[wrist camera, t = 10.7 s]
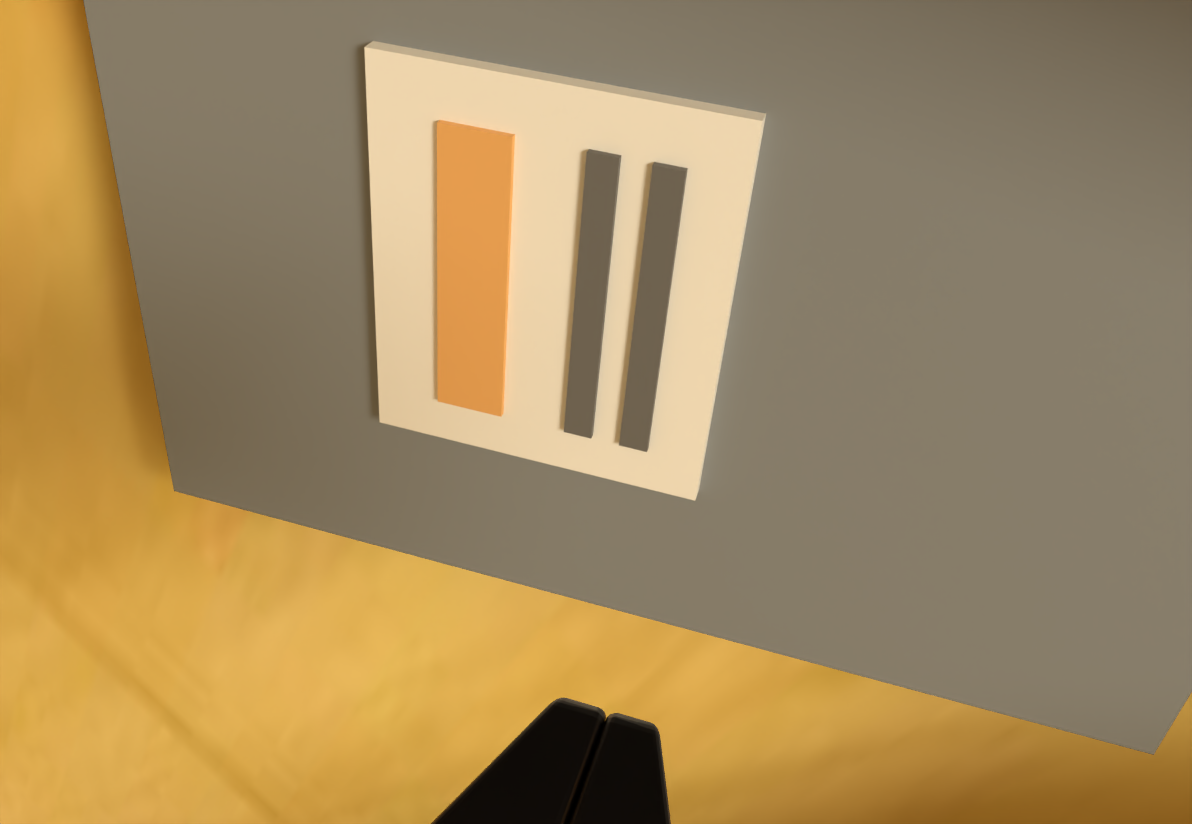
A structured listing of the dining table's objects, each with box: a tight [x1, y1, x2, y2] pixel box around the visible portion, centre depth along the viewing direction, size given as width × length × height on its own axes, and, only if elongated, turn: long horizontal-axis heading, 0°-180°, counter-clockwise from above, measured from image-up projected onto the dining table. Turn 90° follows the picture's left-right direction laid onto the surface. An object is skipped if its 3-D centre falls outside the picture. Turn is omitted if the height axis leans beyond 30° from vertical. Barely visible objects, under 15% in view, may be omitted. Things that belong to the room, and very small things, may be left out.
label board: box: [83, 0, 1192, 755], centre depth 16 cm, size 22×20×4 cm
